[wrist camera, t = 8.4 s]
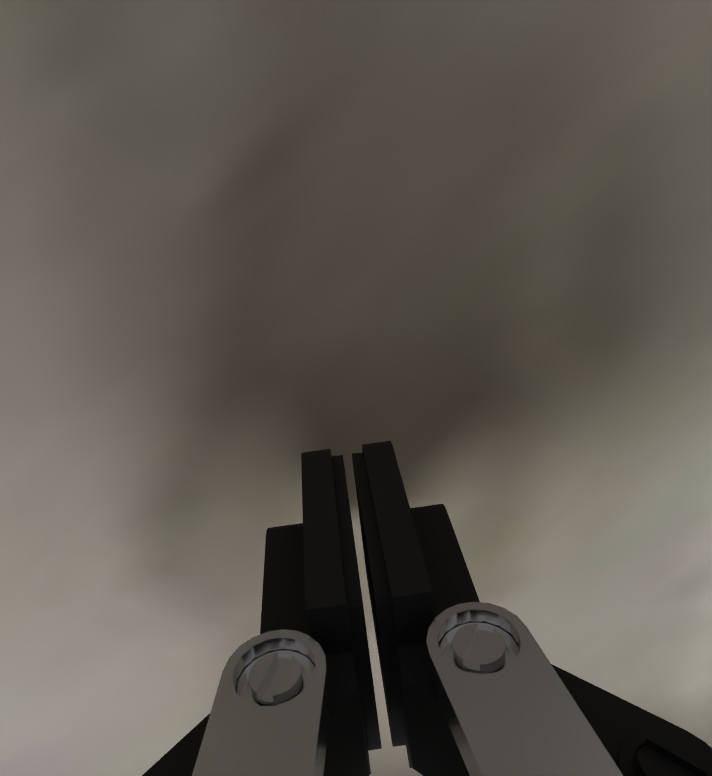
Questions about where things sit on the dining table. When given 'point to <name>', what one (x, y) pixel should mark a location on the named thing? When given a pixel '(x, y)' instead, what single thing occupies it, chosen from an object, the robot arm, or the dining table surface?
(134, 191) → the dining table surface
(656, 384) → the dining table surface
